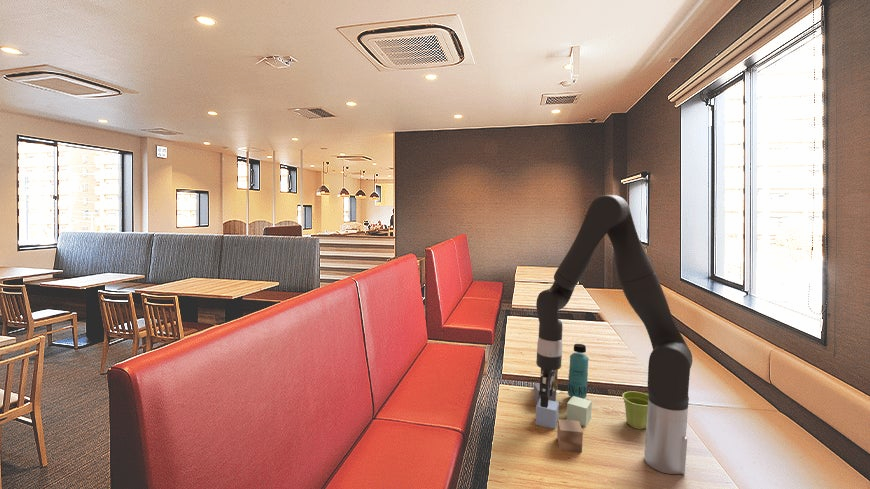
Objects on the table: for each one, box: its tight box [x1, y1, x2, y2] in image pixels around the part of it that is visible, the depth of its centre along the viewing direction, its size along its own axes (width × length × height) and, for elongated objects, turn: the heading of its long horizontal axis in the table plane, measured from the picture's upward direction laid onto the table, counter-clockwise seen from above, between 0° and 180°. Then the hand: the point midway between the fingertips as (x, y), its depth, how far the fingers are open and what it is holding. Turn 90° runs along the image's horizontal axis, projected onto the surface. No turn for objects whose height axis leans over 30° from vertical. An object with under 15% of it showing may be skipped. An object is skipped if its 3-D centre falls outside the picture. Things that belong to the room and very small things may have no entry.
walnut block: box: [556, 418, 584, 453], centre depth 119 cm, size 6×6×6 cm
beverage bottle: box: [567, 343, 590, 399], centre depth 146 cm, size 6×7×20 cm
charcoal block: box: [533, 382, 557, 406], centre depth 143 cm, size 6×6×6 cm
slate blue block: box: [535, 398, 560, 430], centre depth 131 cm, size 6×6×6 cm
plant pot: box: [621, 390, 648, 430], centre depth 130 cm, size 9×9×9 cm
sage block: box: [566, 396, 593, 427], centre depth 133 cm, size 6×6×6 cm
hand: (546, 400), depth 131 cm, fingers open, 8 cm apart
